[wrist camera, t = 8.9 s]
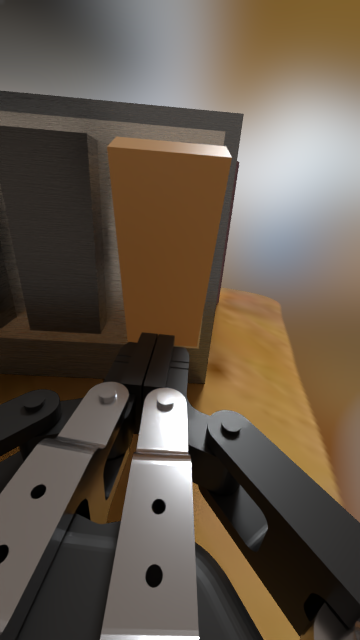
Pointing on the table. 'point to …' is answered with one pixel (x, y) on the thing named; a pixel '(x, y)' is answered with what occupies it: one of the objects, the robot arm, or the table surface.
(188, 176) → the panel
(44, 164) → the box
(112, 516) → the table surface
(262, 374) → the table surface
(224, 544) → the table surface
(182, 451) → the robot arm
